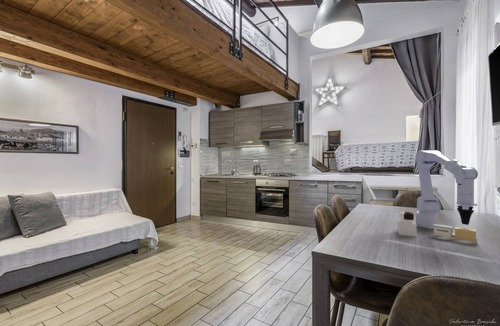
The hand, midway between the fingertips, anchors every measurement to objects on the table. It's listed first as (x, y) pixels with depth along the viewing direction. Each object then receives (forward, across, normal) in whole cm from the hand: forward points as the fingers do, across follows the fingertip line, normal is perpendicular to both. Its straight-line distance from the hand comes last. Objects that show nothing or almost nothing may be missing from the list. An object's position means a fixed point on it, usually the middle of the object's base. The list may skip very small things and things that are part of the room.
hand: (465, 222), depth 107 cm
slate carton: (+8, 0, +8) cm, 12 cm away
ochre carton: (+8, 0, 0) cm, 8 cm away
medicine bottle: (+10, -6, +22) cm, 25 cm away
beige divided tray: (+9, +5, +4) cm, 11 cm away
